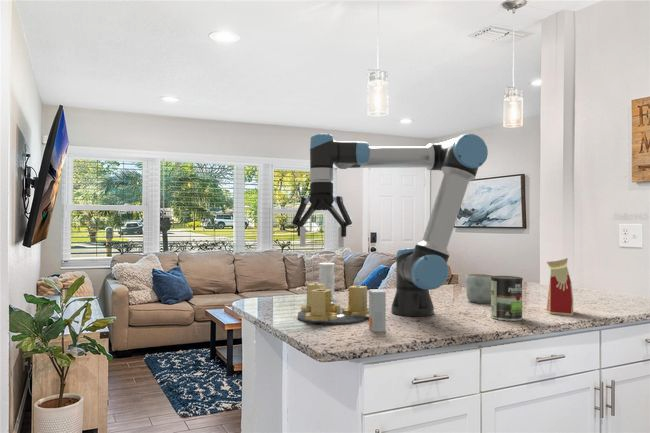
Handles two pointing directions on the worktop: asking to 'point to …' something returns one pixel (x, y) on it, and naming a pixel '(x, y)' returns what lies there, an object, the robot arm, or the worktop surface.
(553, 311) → the red tall pouch
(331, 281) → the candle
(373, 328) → the skincare box
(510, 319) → the coffee can
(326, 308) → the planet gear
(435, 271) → the robot arm
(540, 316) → the worktop surface
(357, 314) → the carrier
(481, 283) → the planter
